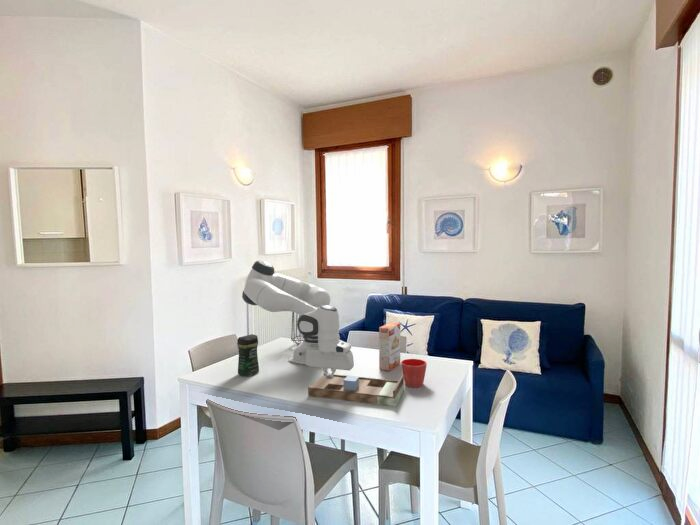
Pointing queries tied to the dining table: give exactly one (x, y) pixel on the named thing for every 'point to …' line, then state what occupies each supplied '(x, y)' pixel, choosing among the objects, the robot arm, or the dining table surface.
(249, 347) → the coffee jar
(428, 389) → the dining table surface
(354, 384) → the cube
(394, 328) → the cracker box
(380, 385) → the box
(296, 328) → the geometric lantern
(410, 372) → the flower pot
